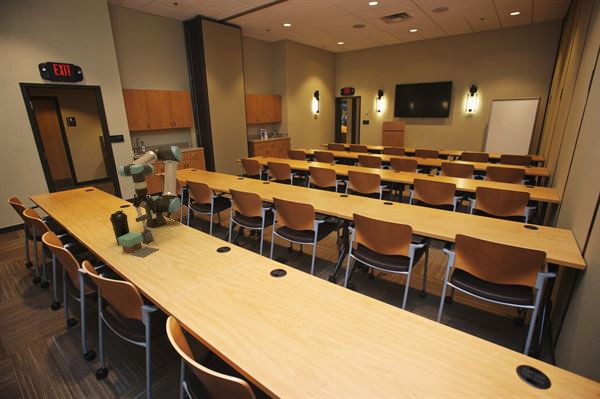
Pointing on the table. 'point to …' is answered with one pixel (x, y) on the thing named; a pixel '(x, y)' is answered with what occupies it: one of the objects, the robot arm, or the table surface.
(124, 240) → the cover
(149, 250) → the mat
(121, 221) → the water bottle
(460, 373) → the table surface
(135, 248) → the case
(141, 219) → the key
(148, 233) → the lock block
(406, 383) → the table surface
